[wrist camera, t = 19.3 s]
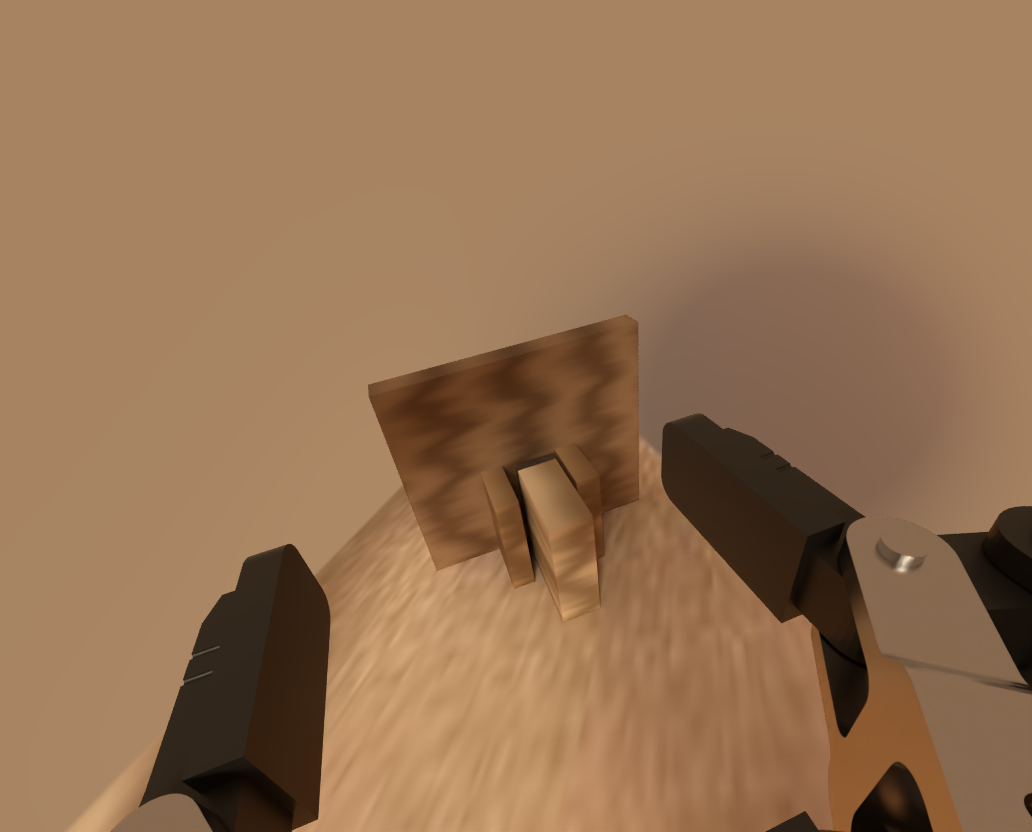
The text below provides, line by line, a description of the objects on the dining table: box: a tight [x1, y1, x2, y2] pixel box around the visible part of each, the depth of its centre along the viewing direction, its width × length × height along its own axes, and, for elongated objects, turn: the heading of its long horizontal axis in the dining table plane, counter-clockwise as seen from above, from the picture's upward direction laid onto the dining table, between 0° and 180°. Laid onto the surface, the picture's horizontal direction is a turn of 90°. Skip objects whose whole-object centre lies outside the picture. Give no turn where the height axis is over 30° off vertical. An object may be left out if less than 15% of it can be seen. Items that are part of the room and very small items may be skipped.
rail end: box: [515, 454, 600, 622], centre depth 37 cm, size 3×8×11 cm, turn 18°
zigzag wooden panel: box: [368, 315, 639, 589], centre depth 38 cm, size 22×7×20 cm, turn 108°
